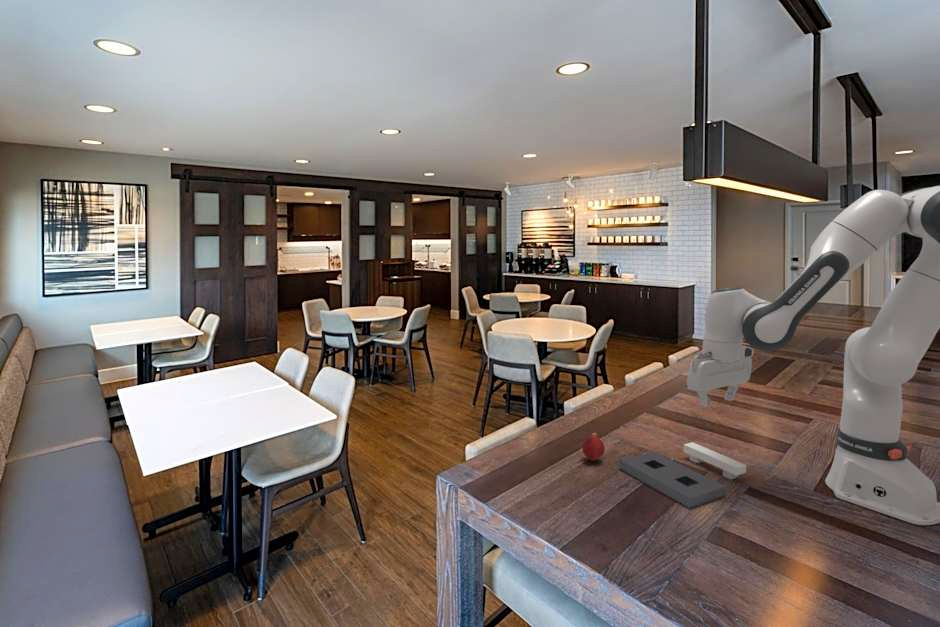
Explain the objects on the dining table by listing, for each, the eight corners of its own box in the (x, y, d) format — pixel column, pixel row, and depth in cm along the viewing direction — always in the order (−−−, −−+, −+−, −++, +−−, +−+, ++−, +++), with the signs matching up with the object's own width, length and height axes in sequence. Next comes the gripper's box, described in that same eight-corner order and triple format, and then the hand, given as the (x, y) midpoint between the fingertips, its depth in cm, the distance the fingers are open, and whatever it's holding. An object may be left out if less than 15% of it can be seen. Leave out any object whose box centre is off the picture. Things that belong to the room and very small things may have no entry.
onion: (588, 466, 134) (589, 438, 133) (578, 457, 139) (579, 430, 138) (607, 464, 135) (609, 435, 134) (597, 455, 141) (598, 428, 140)
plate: (725, 496, 119) (725, 486, 118) (689, 508, 113) (690, 498, 113) (652, 459, 138) (653, 451, 137) (619, 469, 132) (620, 460, 132)
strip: (745, 480, 126) (746, 465, 126) (736, 483, 125) (737, 468, 124) (691, 455, 141) (692, 442, 140) (682, 458, 139) (683, 444, 138)
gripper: (704, 357, 120) (700, 412, 123) (758, 349, 130) (753, 400, 132) (682, 351, 126) (678, 404, 128) (735, 344, 135) (731, 393, 137)
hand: (716, 402), depth 130 cm, fingers open, 8 cm apart
